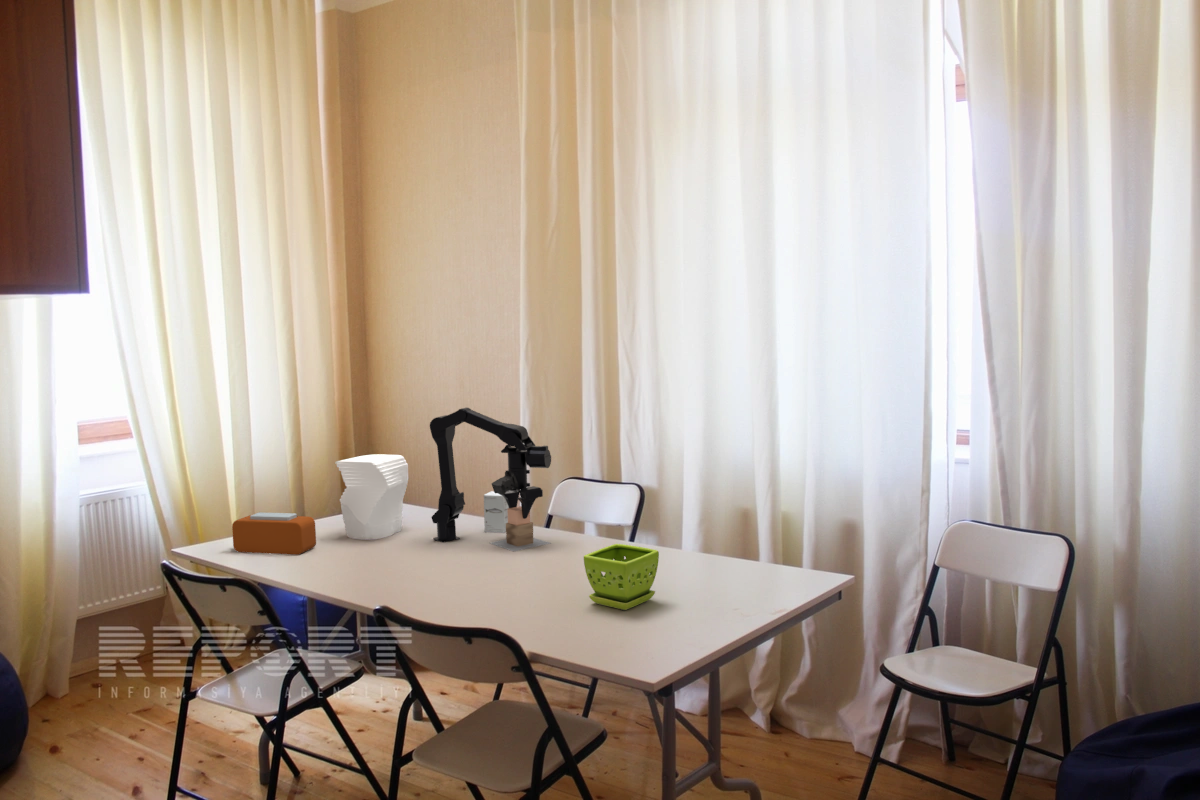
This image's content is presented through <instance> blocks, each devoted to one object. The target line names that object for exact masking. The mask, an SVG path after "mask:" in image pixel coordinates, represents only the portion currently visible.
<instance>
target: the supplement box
mask: <svg viewBox="0 0 1200 800" xmlns="http://www.w3.org/2000/svg"><path fill="white" fill-rule="evenodd" d="M508 508H509V507H508V504H507V501H506V499H505V498H504V497H503V496H502V495H500V494H498V493H495V492H494V490H491V491H489V492H487V493H484V494H483V514H484V515H483V517H484V518H483V520H484V521H483V522H484V523H483V524H484V533H503V534H504V533H505V534H506V523H508V510H507V509H508Z"/></svg>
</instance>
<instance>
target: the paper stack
mask: <svg viewBox="0 0 1200 800" xmlns="http://www.w3.org/2000/svg"><path fill="white" fill-rule="evenodd" d="M335 464H336V468H338V472H340V475H341V479H342V481H343V483H344V485H345V488H344V491H343V492H342V495H340V498H339V503H340V508H341V514H342V519H343V523H344V528H345V534H346V536H347V537H348V538H349V539H354V540H362V541H363V540H365V541H369V540H370V541H371V540H372V541H373V540H379V539H383V538H387V537H390V536H392V535H394V534H396V533H399V532H400V531H401V530H402V528H403V518H404V517H403V507H404V506H403V504H404V497H405V494H406V491H407V487H408V483H409V480H410V479H409V463H407V460H406V459H405V456H403V455H400V454H388V453H387V454H386V453H385V454H383V453H382V454H381V453H379V454H377V453H375V454H366V455H365V454H364V455H360V456H359V455H358V456H355V457H350V458H345V459H341V460H336V461H335V463H334V465H335Z"/></svg>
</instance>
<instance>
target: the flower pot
mask: <svg viewBox="0 0 1200 800" xmlns="http://www.w3.org/2000/svg"><path fill="white" fill-rule="evenodd" d="M659 553H660V551H659V550H657V549H653V548H648V547H644V546H643V547H641V546H637V545H630V544H629V545H628V544H623V543H614V544H611V545H608V546H606V547H603V548H600V549H597V550H595V551H591V552H590V553H587V554H585V555H583V564H584V570H585V573H586V574H585V575H586V577H587V579H588V582H589V584H590V586H591V588H592V590H593V591H594V592H593V593H591V594H589V595H588V597H589V598H590V600H591V601H592V602H594V603H595V604H597V605H602V606H607V607H609V608H610V607H611V608H614V609H619V610H621V611H627V610H629V609H632V608H634V607H636V606H638V605H640V604H643V603H645V602H647V601H649V600H651V599H652V598H653V596H655V594H656V591H655V590H651V588H652V586H653V584H654V581H655V579H656V575H657V572H658V566H659V559H660V556H659V555H660V554H659ZM603 573H604V574H603Z"/></svg>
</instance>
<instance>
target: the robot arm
mask: <svg viewBox="0 0 1200 800" xmlns="http://www.w3.org/2000/svg"><path fill="white" fill-rule="evenodd" d="M462 423H466V424H469V425H471V426H473V427H476V428H478V429H481V430H482V431H485V432H488V433H490V434H492V435H494V436H496V437H497V438H498V439H499V440H500V441H502V442H503V443H504V444H506V445H505V446H504V448H503V449H502V450H500V453H502V454H503V453H504V454H507V470H505V472H504V476H501V477H500V478H498V479H496V480H495V481H493V482H492V483H491V486H492V489H493V490H492V491H494V492H495V493H498V494H500V495H502V496H503V497H504V498H505V499H506V501H507V504H508V507H509V508H514V507H518V502H520V506H521V507H522V515H523V519H526V518H527V516H528V514H529V512H530V513H531V509H532V507H533V505H534V503H535V501H536V500H537V499H538V498H542V497H543V496H544V494H543V493H544V491H543V489H542V488H541V487H539V486H534V485H533V486H531V483H530V482H528V474H530V472H531V471H530V469H531V468H532V469H534V468H536V469H549V468H550V467H551V465H552V455H551V451H550V450H549V446H548V445H541V446H540V445H536V444H535V443H534V441H533V440H532V439H531V437H530V436H529V433H528V429H527V428H526V427H525V426H524V425H523V426H522V425H518V424H514V423H506V422H502V421H499V420H496V419H494V418H492V417H489V416H487V415H485V414H483V413H480V412H477V411H475V410H474V409H471V408H470V407H462V408H459V409H458V410H456V411H454V412H451V413H450V414H445V415H441V416H437V417H434V418H432V420H431V421H430V422H429V429H430V430H429V431H430V434H431V437H432V439H433V441H434V443H435V445H436V447H437V458H438V467H439V477H440V478H439V479H440V486H441V487H440V488H441V491H440V495H439V497H438V503H437V504H438V506H437V507H438V508H437V510H436V512H434V514H432V516H431V517H430V518H431V520H432V523H433V524H436V534H437V536H436V537H433V538H432V539H433V541H434V540H435V541H437V542H440V543H447V542H453V541H459V540H461V537H459V536H457V531H456V529H457V528H456V519H458V518H459V517H460V514H461V513H462V512H463V510H464V507H465V505H466V502H465V492H464V491H462V492H460V491H459V489H458V488H457V481H456V479H457V478H456V469H455V461H454V460H455V459H454V449H453V441H454V438H455V436H456V427H457V426H459V425H461V424H462ZM527 466H528V467H529V468H530V469H527V468H528V467H527Z"/></svg>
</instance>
